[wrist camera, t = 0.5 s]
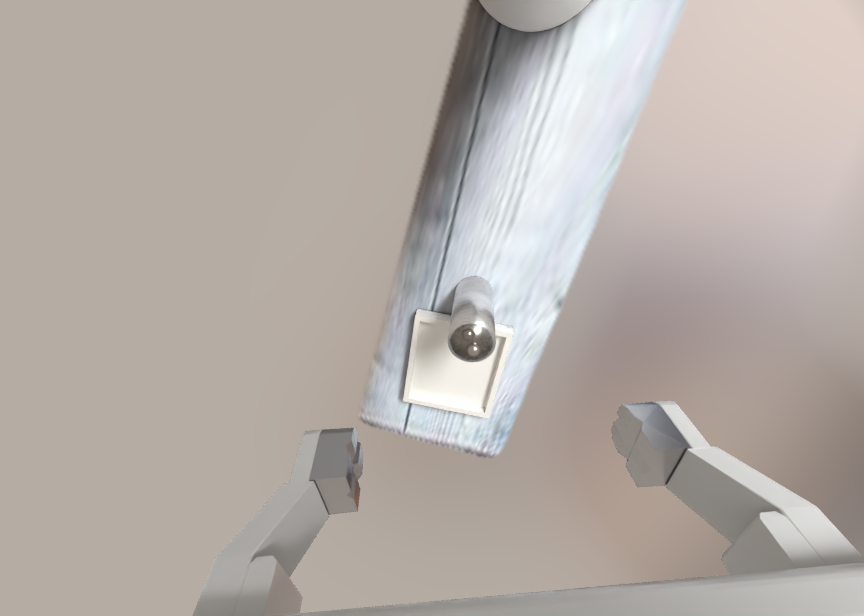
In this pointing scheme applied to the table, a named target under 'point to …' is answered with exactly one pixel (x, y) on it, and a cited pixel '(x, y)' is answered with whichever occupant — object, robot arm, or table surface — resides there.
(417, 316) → the cream tray
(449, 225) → the table surface
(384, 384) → the table surface
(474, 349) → the metal cup with balls
